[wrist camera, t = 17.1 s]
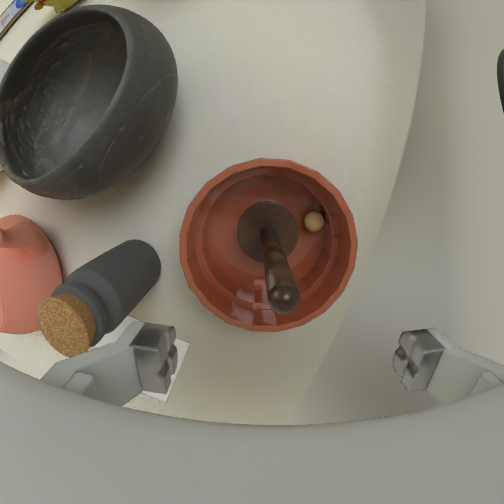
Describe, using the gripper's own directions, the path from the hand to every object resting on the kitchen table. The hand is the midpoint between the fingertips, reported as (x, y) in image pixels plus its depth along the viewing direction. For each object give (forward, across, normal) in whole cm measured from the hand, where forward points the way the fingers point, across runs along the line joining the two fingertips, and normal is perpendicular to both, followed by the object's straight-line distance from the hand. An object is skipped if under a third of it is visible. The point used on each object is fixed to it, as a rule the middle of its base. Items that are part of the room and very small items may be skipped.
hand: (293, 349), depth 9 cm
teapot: (+20, +31, +5) cm, 38 cm away
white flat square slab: (+20, +16, +17) cm, 31 cm away
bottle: (+20, +14, +4) cm, 25 cm away
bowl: (+20, +17, -13) cm, 30 cm away
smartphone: (+20, +46, -38) cm, 63 cm away
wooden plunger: (+20, 0, 0) cm, 20 cm away
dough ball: (+19, -4, -2) cm, 19 cm away
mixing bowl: (+20, 0, 0) cm, 20 cm away
